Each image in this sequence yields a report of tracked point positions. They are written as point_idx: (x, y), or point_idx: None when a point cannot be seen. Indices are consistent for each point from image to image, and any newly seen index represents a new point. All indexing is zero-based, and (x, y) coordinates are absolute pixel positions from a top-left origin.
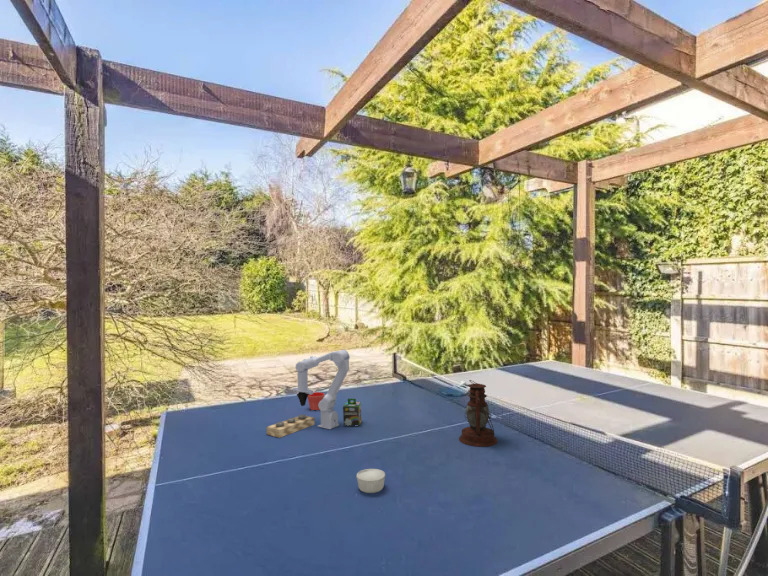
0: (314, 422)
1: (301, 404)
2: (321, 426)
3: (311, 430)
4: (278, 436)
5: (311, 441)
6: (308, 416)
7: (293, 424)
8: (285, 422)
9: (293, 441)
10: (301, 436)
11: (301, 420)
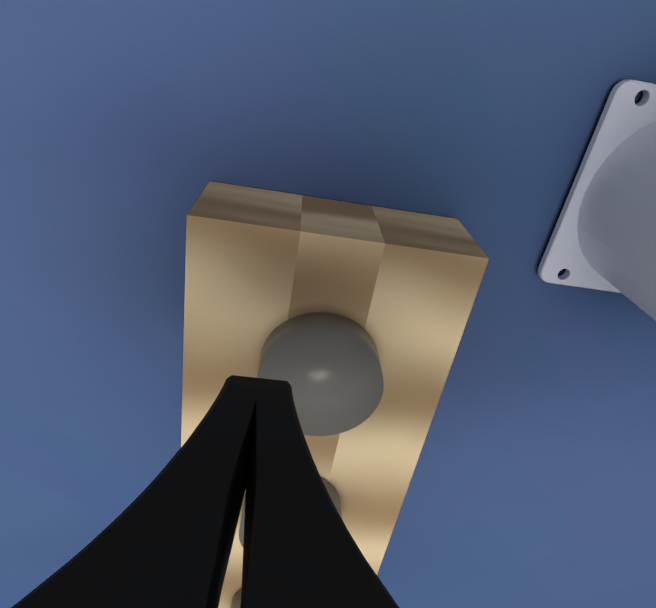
0: (464, 230)
1: (246, 480)
2: (605, 286)
3: (517, 390)
4: None
5: (628, 558)
6: (354, 245)
7: (371, 542)
8: (238, 530)
9: (490, 594)
10: (499, 521)
11: (371, 425)
